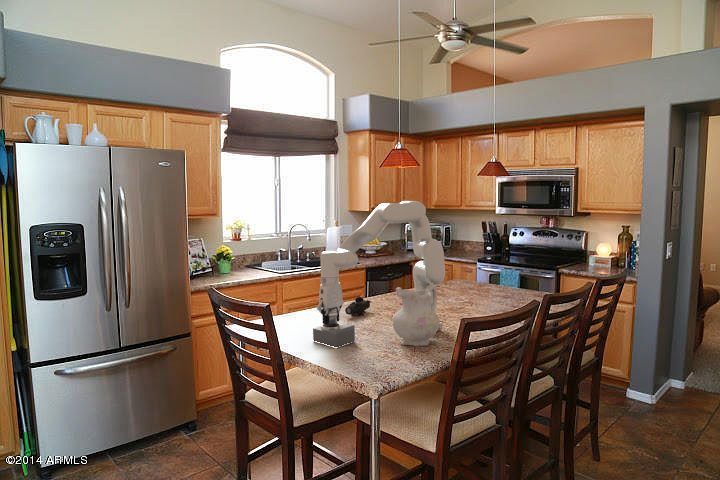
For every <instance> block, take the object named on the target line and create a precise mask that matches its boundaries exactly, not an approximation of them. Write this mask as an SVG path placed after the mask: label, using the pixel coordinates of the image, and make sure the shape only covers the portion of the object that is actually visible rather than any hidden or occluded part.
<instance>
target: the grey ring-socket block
mask: <svg viewBox="0 0 720 480" xmlns="http://www.w3.org/2000/svg"><path fill="white" fill-rule="evenodd" d="M355 328H356V327H355V324H352V323H345V324H342V323H340V322H337V327H325V324H323V323H322V324H321V325H320V326H317V327H313V328H312V341H313V340H314V341H317V342H320V343H324V344H327V345H330V346H334V347H339V346H342V345H344V344H347V343H351V342H354V341H355V342H356V338H355V337H356V331H355ZM355 342H354V343H355ZM351 344H352V343H351Z"/></svg>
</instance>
